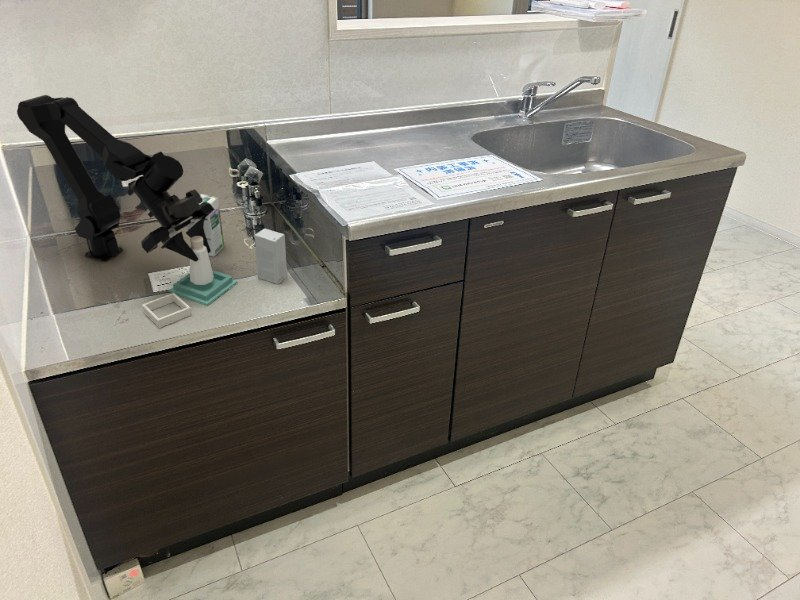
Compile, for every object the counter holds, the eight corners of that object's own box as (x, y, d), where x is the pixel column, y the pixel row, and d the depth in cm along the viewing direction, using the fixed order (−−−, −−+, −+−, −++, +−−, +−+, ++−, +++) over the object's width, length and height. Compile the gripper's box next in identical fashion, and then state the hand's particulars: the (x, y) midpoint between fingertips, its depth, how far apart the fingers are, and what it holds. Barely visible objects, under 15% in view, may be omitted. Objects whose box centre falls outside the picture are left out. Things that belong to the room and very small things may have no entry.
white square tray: (143, 312, 134) (141, 304, 132) (175, 299, 138) (173, 292, 137) (159, 328, 129) (157, 320, 128) (191, 314, 134) (190, 307, 133)
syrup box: (215, 257, 154) (208, 206, 146) (193, 253, 155) (185, 202, 147) (224, 246, 159) (219, 196, 150) (203, 243, 159) (197, 192, 151)
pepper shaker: (198, 270, 144) (193, 230, 138) (218, 276, 143) (213, 235, 137) (185, 282, 140) (178, 241, 134) (205, 287, 139) (200, 246, 133)
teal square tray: (169, 292, 140) (168, 285, 139) (200, 270, 149) (199, 263, 148) (207, 306, 137) (206, 298, 136) (237, 282, 145) (236, 275, 144)
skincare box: (287, 276, 149) (285, 234, 142) (277, 284, 146) (275, 241, 139) (267, 269, 151) (264, 227, 144) (257, 277, 148) (253, 235, 141)
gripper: (142, 199, 122) (192, 260, 125) (203, 168, 136) (247, 224, 139) (120, 223, 129) (168, 281, 132) (180, 192, 143) (222, 244, 146)
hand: (203, 256), depth 137 cm, fingers closed on pepper shaker, 4 cm apart
